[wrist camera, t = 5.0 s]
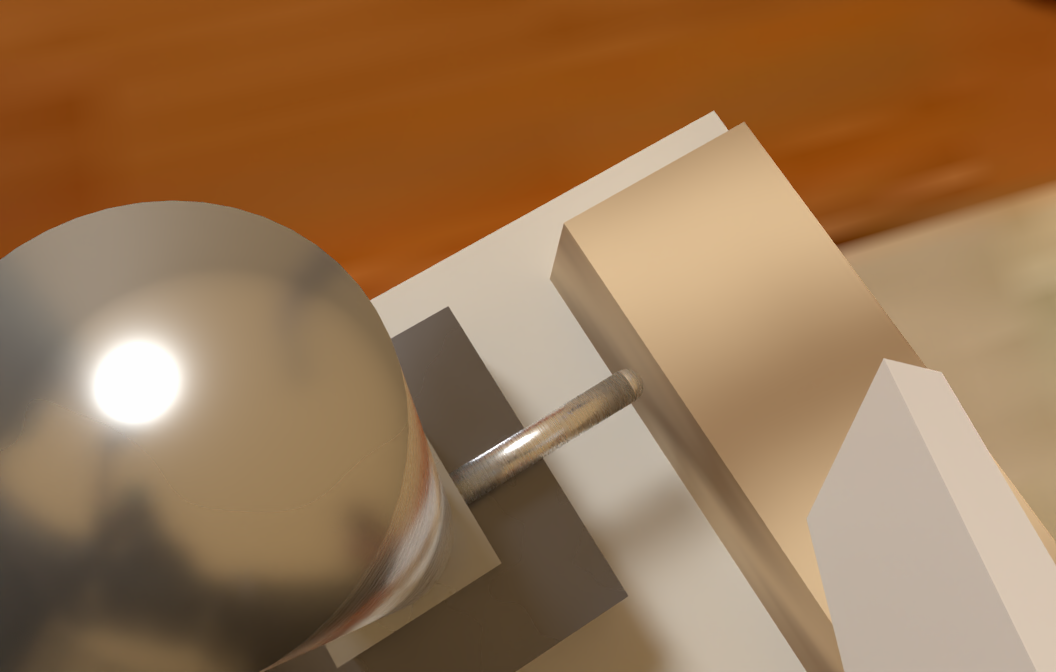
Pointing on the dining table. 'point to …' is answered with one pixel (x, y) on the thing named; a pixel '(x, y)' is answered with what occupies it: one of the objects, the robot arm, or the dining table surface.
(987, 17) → the dining table surface
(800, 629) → the oak board
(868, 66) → the dining table surface
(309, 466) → the surface gauge
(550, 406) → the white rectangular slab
